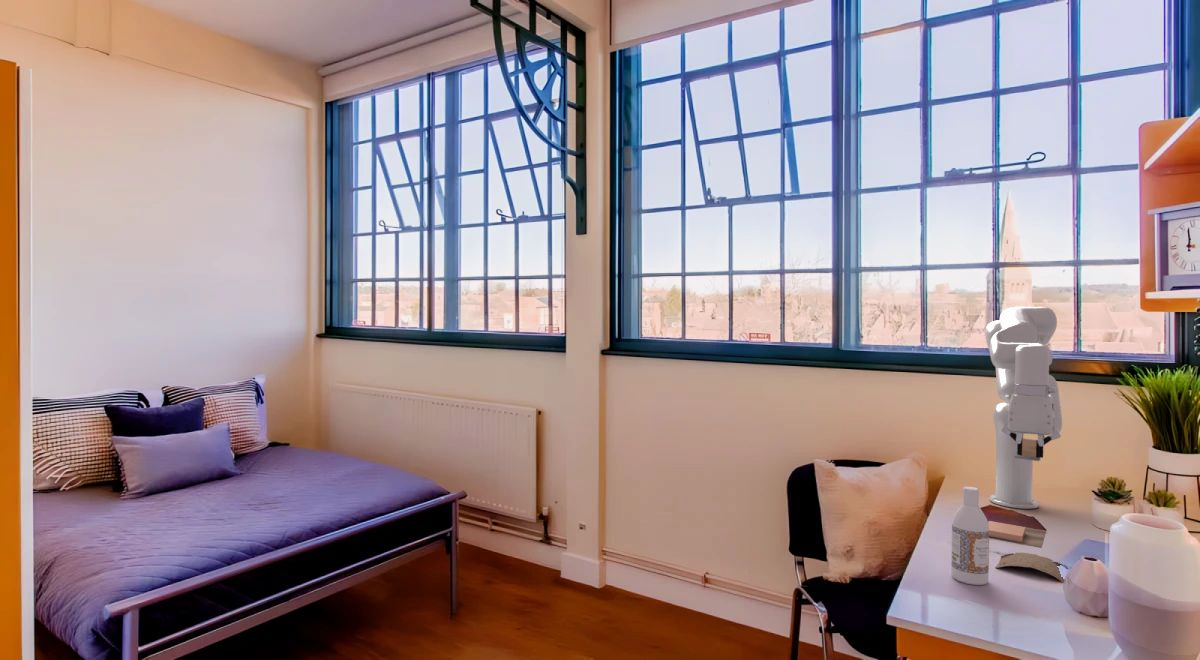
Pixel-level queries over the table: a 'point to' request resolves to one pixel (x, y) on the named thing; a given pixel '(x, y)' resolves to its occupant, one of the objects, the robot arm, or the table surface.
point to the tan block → (1028, 450)
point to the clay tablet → (1031, 563)
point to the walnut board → (1029, 537)
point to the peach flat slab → (1006, 531)
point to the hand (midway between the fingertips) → (1030, 458)
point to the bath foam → (970, 541)
